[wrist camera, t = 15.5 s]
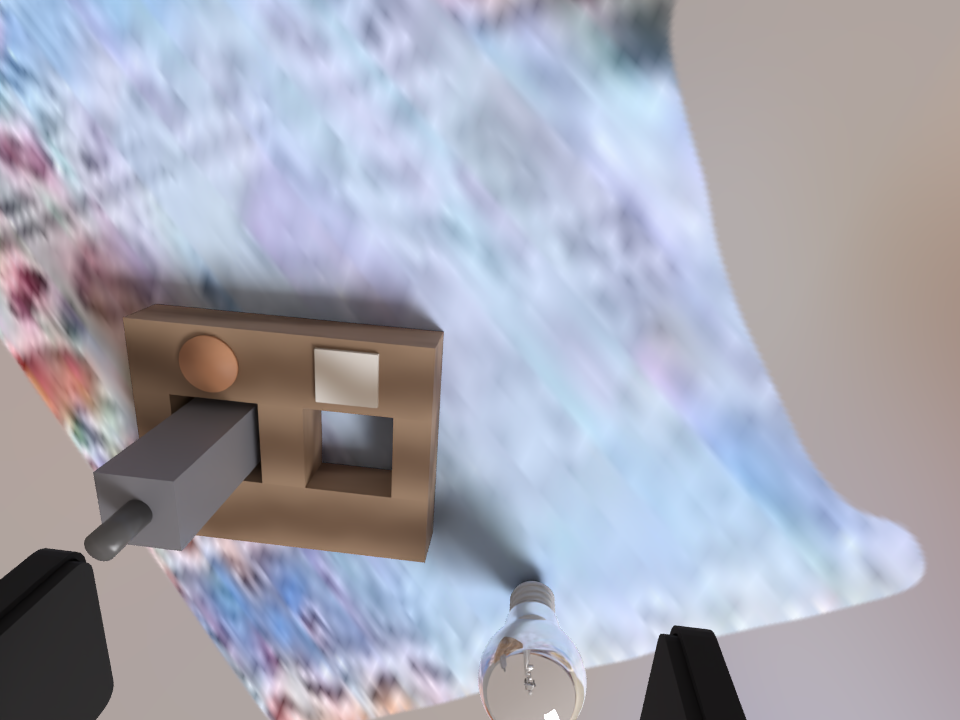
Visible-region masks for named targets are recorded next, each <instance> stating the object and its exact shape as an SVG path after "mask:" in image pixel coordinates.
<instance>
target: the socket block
mask: <svg viewBox="0 0 960 720" xmlns="http://www.w3.org/2000/svg"><path fill="white" fill-rule="evenodd" d="M123 324H124V331H125V339H126V346H127V353H128V360H129V367H130V375H131V382H132V389H133V396H134V403H135V411H136V418H137V425H138V432H139V438H141V437H142V436H143V435H145V434H146V433H147V432H149V431H150V430H152V429H153V428H154V427H156V426H157V425H158V424H160V423H161V422H162V421H164V420H165V419H167V418H168V417H169V416H171V415H172V414H173V413H175V412H176V411H177V410H179V409H180V408H181V407H183V406H184V405H186V404H187V403H188V402H190V401H191V400H192V399H194V398H195V397H200V398H209V399H219V400H228V401H238V402H247V403H257V404H258V418H259V435H260V451H261V461H260V462H259V463H258V464H257V466H256V467H255V468H254V469H253V470H252V471H251V472H250V474H249V475H248V476H247V477H246V478H245V479H244V480H243V482H242V483H241V484H240V485H239V486H238V487H237V488H236V489H235V491H234V492H233V493H232V494H231V495H230V496H229V497H228V499H227V500H226V501H225V502H224V503H223V504H222V505H221V507H220V508H219V509H218V510H217V511H216V512H215V513H214V515H213V516H212V517H211V518H210V519H209V520H208V521H207V523H206V524H205V525H204V526H203V527H202V528H201V529H200V531H199V532H198V533H197V534H196V535H199V536H207V537H215V538H224V539H232V540H240V541H249V542H257V543H266V544H274V545H282V546H291V547H299V548H307V549H316V550H324V551H332V552H341V553H349V554H358V555H366V556H374V557H383V558H391V559H399V560H408V561H416V562H425V560H426V556H427V552H428V548H429V545H430V541H431V537H432V533H433V520H434V501H435V483H436V464H437V446H438V428H439V409H440V391H441V372H442V354H443V336H444V332H440V331H430V330H420V329H409V328H399V327H388V326H378V325H368V324H357V323H347V322H337V321H326V320H316V319H306V318H295V317H285V316H274V315H264V314H254V313H243V312H233V311H223V310H212V309H202V308H192V307H181V306H171V305H160V304H155V305H152V306H150V307H147V308H145V309H143V310H140V311H138V312H135V313H133V314H130V315H128V316H126V317H123ZM321 410H323V411H333V412H342V413H351V414H361V415H370V416H380V417H389V418H393V453H392V470H385V469H376V468H367V467H358V466H349V465H340V464H331V463H322V424H321Z"/></svg>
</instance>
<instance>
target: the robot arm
mask: <svg viewBox="0 0 960 720" xmlns="http://www.w3.org/2000/svg"><path fill="white" fill-rule="evenodd" d="M113 686H114V685H113V676H112V671H111V665H110V660H109V655H108V649H107V644H106V639H105V633H104V627H103V622H102V617H101V611H100V606H99V600H98V595H97V590H96V584H95V579H94V574H93V569H92V566H91V565H90V564H89V563H86V560H85V557H84V556H83V555H82V554H81V553H78V552H72V551H64V550H55V549H47V548H44V549H40V550H38V551H36V552H35V553H33V554H32V555H30V556H29V557H28V558H27V559H25V560H24V561H23V562H22V563H20V564H19V565H18V566H17V567H16V568H14V569H13V570H12V571H10V572H9V573H8V574H7V575H5V576H4V577H3V578H2V579H0V720H96V719H97V718H98V716H99V715H100V714H101V712H102V711H103V710H104V708H105V707H106V705H107V704H108V702H109V700H110V698H111V695H112V692H113ZM640 720H746V717H745V714H744V712H743V709H742V707H741V704H740V701H739V698H738V695H737V693H736V690H735V687H734V685H733V682H732V679H731V677H730V674H729V671H728V668H727V666H726V663H725V661H724V657H723V655H722V652H721V649H720V647H719V644H718V641H717V638H716V636H715V634H714V632H713V631H711V630H708V629H700V628H692V627H684V626H673V628H672V629H671V632H670V635H668V634H660V636H659V638H658V642H657V646H656V651H655V655H654V660H653V664H652V669H651V673H650V677H649V682H648V686H647V691H646V695H645V700H644V704H643V709H642V713H641V717H640Z"/></svg>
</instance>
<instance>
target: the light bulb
mask: <svg viewBox="0 0 960 720" xmlns="http://www.w3.org/2000/svg"><path fill="white" fill-rule="evenodd" d="M554 601H555V599H554V594H553V592H552V591H551V589H550V588H549V587H547V586H546V585H544V584H542V583H540V582H537V581H526V582H523V583H521V584H519V585H518V586H517V587H516V588H515V589H514V591H513V592H512V594H511V597H510V612H509V613H508V615H507V618H506V621H505V624H504V626H503V627H501V628H500V629H499V630H498V631H497V632H496V633H495V634H494V635H493V636H492V638H491V639H490V640H489V642H488V643H487V645H486V647H485V649H484V651H483V653H482V656H481V659H480V664H479V669H478V687H479V693H480V696H481V701H482V703H483V706H484V708H485V710H486V712H487V714H488V716H489V717H490V719H491V720H576V719H577V717H578V715H579V714H580V711H581V709H582V707H583V704H584V700H585V695H586V682H587V681H586V671H585V667H584V662H583V660H582V657H581V655H580V653H579V650H578V648H577V647H576V645H575V644H574V642H573V641H572V640H571V638H570V637H569V636H568V635H567V634H566V633H565V632H564V631H563V630H562V629H561V628H560V624H559V621H558V618H557V616H556V614H555V603H554Z"/></svg>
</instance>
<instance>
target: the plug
mask: <svg viewBox="0 0 960 720" xmlns="http://www.w3.org/2000/svg"><path fill="white" fill-rule="evenodd" d="M260 461H261V451H260V435H259V418H258V404H257V403H247V402H238V401H228V400H219V399H209V398H200V397H195V398H194V399H192V400H191V401H190V402H188V403H187V404H186V405H184V406H183V407H181V408H180V409H179V410H177V411H176V412H175V413H173V414H172V415H171V416H169V417H168V418H167V419H165V420H164V421H162V422H161V423H160V424H158V425H157V426H156V427H154V428H153V429H152V430H150V431H149V432H147V433H146V434H145V435H143V436H142V437H141V438H139V439H138V440H137V441H135V442H134V443H132V444H131V445H130V446H128V447H127V448H126V449H124V450H123V451H122V452H120V453H119V454H118V455H116V456H115V457H113V458H112V459H111V460H109V461H108V462H107V463H105V464H104V465H103V466H101V467H100V468H98V469H97V470H96V471H94V472H93V474H94V480H95V486H96V491H97V498H98V504H99V509H100V515H101V521H102V524H101V525H100V526H99V527H98V528H97V529H96V530H94V531H93V532H92V533H91V534H90V535H89V536H88V537H86V539H85V542H84V545H85V549H86V551H87V552H88V553H89V555H90V556H92V557H93V558H95V559H97V560H100V561H109V560H111V559H113V557H115V556H116V555H117V554H118V553H119V552H120V551H121V550H122V549H123V548H124V547H125V546H126V545H127V544H129V545H137V546H145V547H153V548H161V549H169V550H177V551H182V550H183V549H184V548H185V547H186V545H187V544H188V543H189V542H190V541H191V540H192V539H193V537H194V536H195V535H196V534H197V533H198V532H199V531H200V529H201V528H202V527H203V526H204V525H205V524H206V523H207V521H208V520H209V519H210V518H211V517H212V516H213V515H214V513H215V512H216V511H217V510H218V509H219V508H220V507H221V505H222V504H223V503H224V502H225V501H226V500H227V499H228V497H229V496H230V495H231V494H232V493H233V492H234V491H235V489H236V488H237V487H238V486H239V485H240V484H241V483H242V482H243V480H244V479H245V478H246V477H247V476H248V475H249V474H250V472H251V471H252V470H253V469H254V468H255V467H256V466H257V464H258V463H259V462H260Z"/></svg>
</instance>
